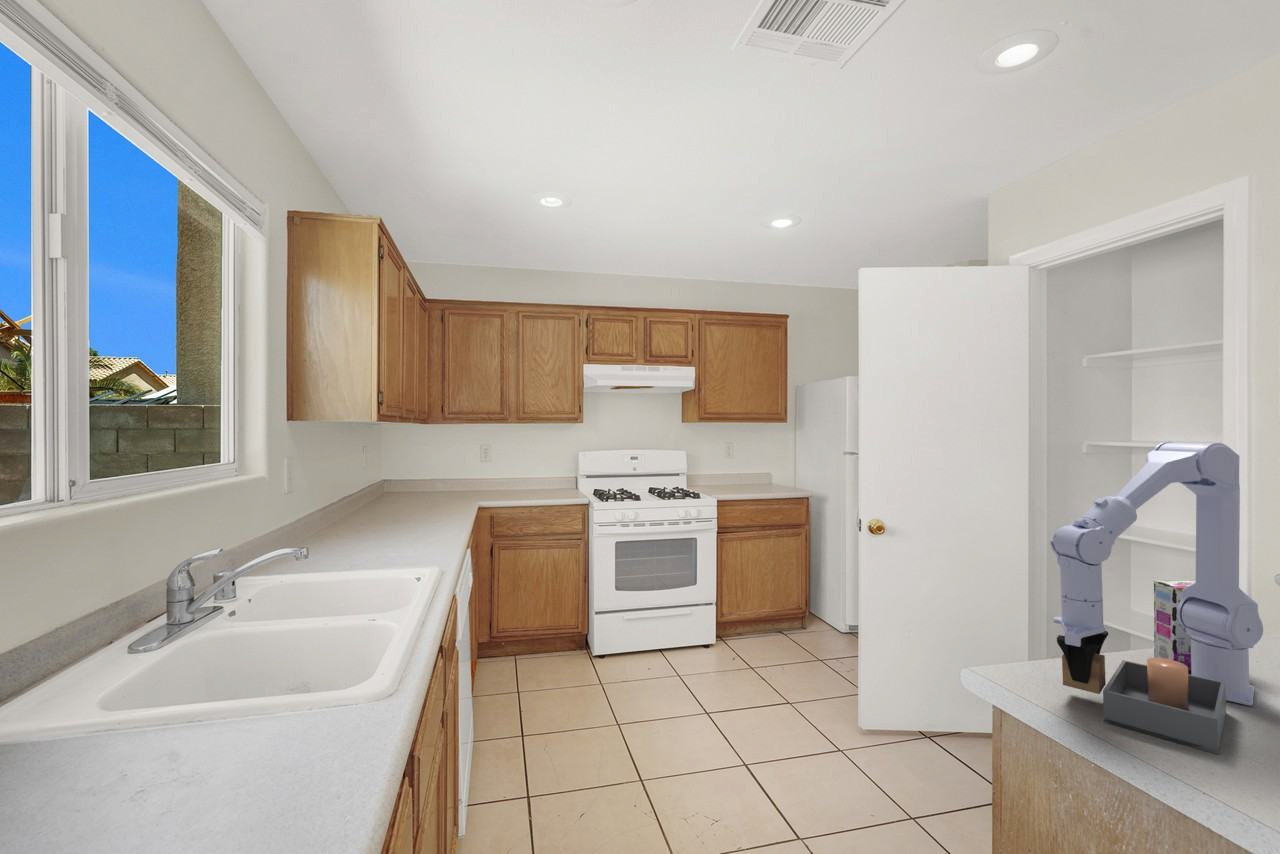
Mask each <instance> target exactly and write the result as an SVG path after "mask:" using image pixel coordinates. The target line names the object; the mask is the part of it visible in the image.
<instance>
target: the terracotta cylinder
mask: <svg viewBox="0 0 1280 854" xmlns="http://www.w3.org/2000/svg"><path fill="white" fill-rule="evenodd" d="M1146 661H1147V662H1146V663H1147V664H1146V665H1147V673H1148V701H1151V702H1155V703H1159V704H1162V705H1166V706H1170V707H1174V708H1178V709H1182V710H1186V711H1189V688H1188V674H1189V673H1188V667H1187V666H1186V665H1185V664H1183V663H1180V662H1177V661H1174V660H1170V659H1164V658H1154V657H1149V658H1147V659H1146Z"/></svg>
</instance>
